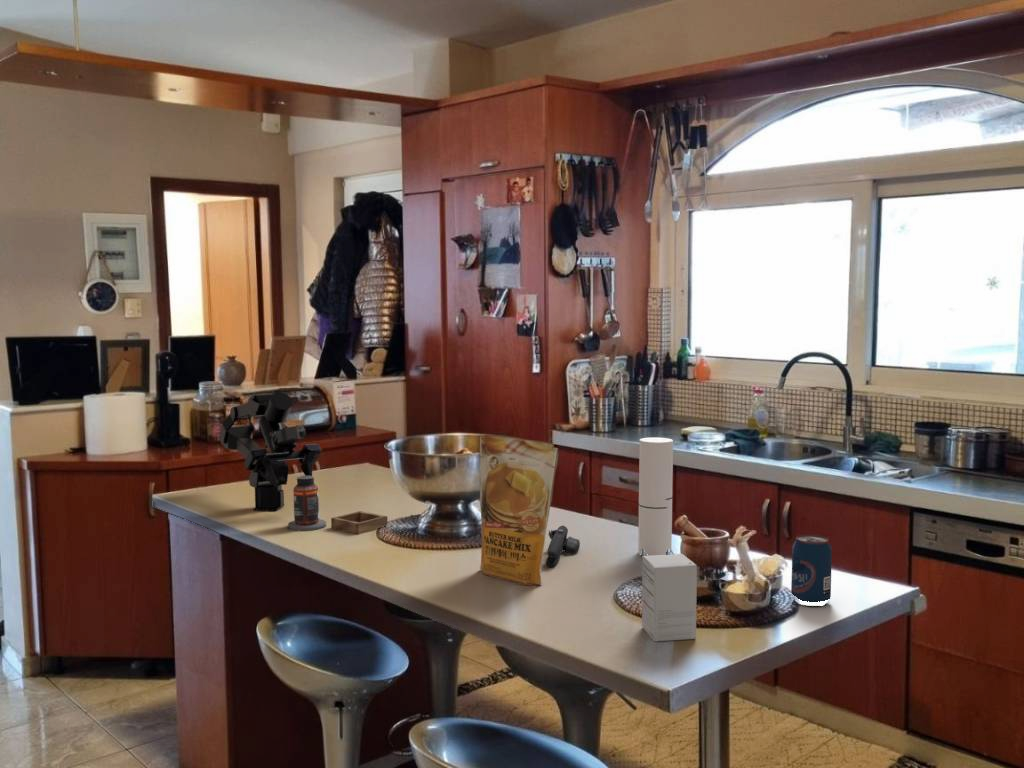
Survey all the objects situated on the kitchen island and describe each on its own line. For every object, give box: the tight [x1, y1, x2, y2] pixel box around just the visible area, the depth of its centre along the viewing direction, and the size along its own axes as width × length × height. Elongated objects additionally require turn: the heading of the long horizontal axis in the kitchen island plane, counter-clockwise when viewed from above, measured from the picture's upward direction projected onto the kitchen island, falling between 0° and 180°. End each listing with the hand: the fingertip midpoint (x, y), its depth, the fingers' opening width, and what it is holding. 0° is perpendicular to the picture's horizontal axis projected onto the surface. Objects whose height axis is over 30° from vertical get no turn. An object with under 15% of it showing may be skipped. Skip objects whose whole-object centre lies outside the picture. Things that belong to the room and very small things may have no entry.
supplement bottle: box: [292, 475, 320, 525], centre depth 238 cm, size 6×6×11 cm
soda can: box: [790, 534, 833, 602], centre depth 180 cm, size 7×7×12 cm
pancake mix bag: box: [478, 434, 560, 586], centre depth 196 cm, size 7×19×28 cm, turn 48°
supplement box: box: [641, 553, 698, 643], centre depth 164 cm, size 7×7×13 cm
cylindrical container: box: [637, 437, 674, 556], centre depth 213 cm, size 7×7×25 cm
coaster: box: [287, 518, 327, 532], centre depth 239 cm, size 9×9×1 cm
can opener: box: [545, 525, 581, 568], centre depth 211 cm, size 18×7×6 cm, turn 165°
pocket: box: [330, 510, 389, 535], centre depth 238 cm, size 10×10×2 cm
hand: (293, 484), depth 244 cm, fingers open, 9 cm apart
